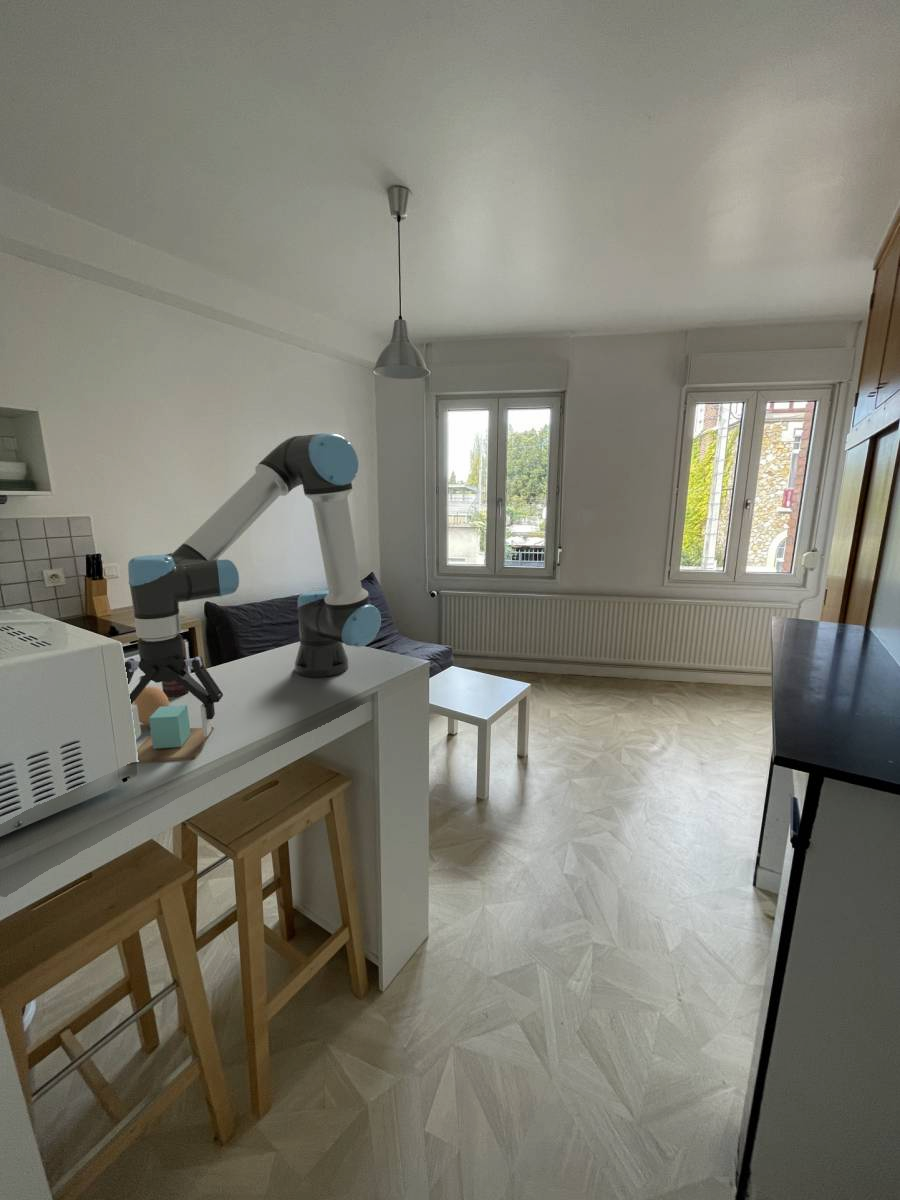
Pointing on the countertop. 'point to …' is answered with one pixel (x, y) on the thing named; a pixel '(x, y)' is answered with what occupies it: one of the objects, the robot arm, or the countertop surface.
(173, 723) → the turquoise block
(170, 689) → the can
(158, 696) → the egg
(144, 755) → the base board
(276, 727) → the countertop surface
